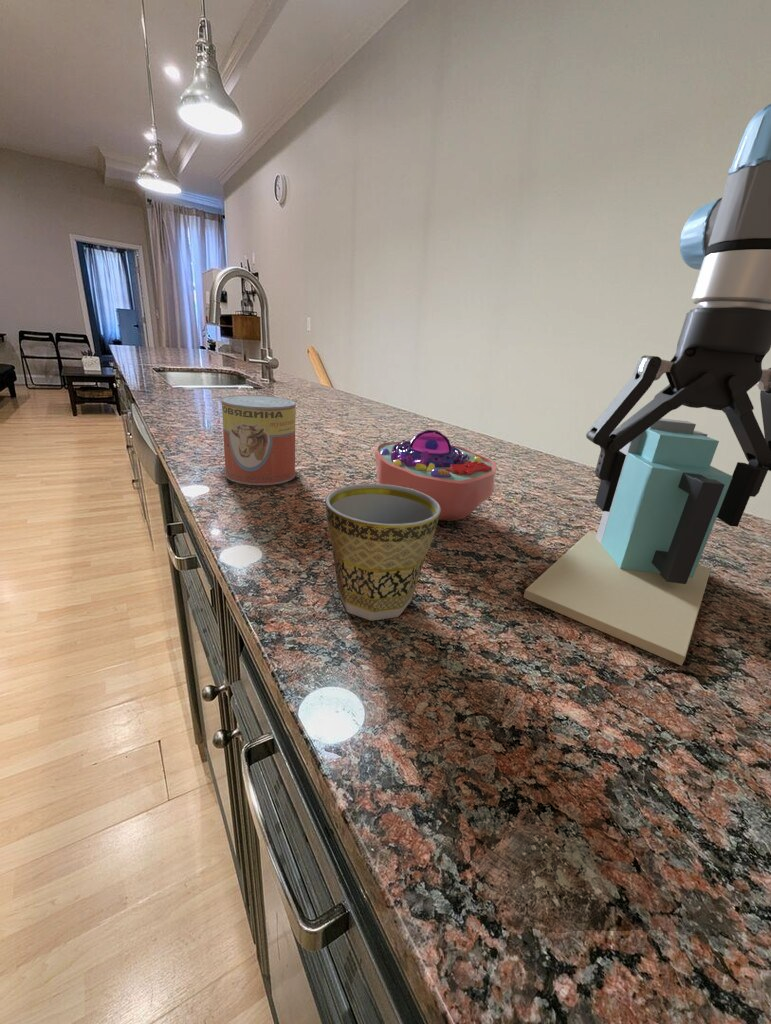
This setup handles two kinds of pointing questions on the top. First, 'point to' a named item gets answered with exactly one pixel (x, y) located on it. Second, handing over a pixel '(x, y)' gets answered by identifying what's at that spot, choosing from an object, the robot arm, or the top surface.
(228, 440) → the canned food
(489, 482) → the cell model
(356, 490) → the ceramic cup
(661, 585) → the mat
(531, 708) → the top surface
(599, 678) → the top surface
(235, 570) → the top surface
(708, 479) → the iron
